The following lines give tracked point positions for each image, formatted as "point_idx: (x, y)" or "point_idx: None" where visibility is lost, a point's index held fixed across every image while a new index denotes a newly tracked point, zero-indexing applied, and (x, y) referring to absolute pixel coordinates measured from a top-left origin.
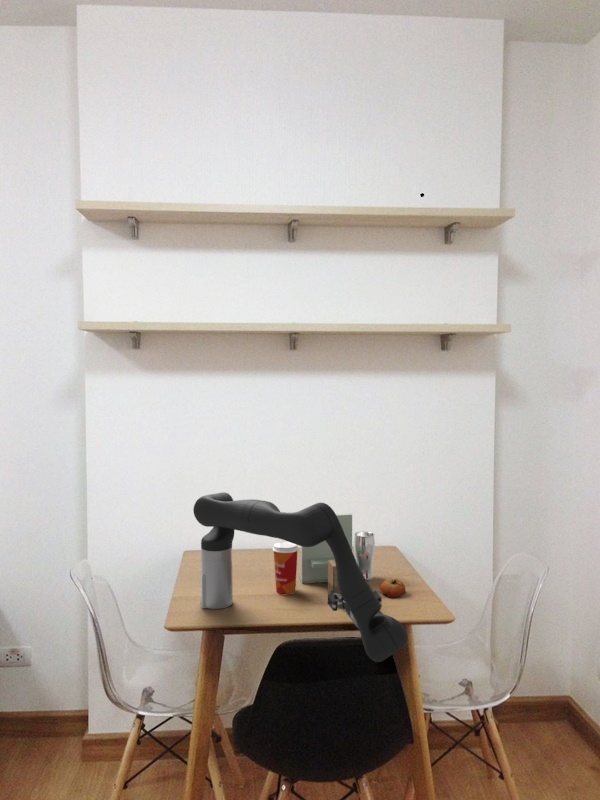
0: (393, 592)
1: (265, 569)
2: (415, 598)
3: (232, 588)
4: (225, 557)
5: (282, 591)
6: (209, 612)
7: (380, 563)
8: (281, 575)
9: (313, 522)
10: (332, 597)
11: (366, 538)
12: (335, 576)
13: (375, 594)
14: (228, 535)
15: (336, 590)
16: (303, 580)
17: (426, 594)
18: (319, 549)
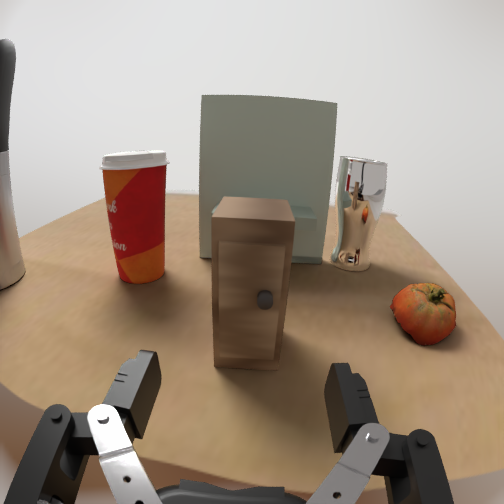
0: (432, 331)
1: (168, 220)
2: (478, 349)
3: (8, 252)
4: None
5: (122, 274)
6: None
7: (379, 235)
8: (114, 233)
9: None
10: (43, 456)
11: (369, 166)
12: (221, 264)
13: (424, 490)
14: None
15: (226, 321)
16: (202, 250)
17: (493, 332)
18: (244, 180)
